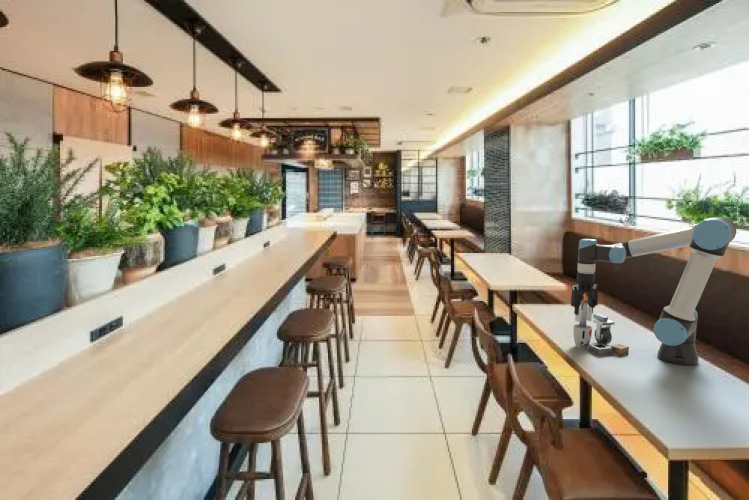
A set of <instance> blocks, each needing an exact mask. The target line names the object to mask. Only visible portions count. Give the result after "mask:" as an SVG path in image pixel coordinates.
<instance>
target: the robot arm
mask: <svg viewBox="0 0 749 500" xmlns="http://www.w3.org/2000/svg"><path fill="white" fill-rule="evenodd" d="M736 235H737V227H736V225H735V224H734V222H733V221H732V220H730V219H729V218H726V217H723V216H715V217H709V218H705V219H703V220H701V221H700V222H698V223H695V224H693V225H692V226H691V227H687V228H682V229H678V230H672V231H668V232H665V233H664V232H663V233H659V234H654V235H649V236H645V237H639V238H636V239H631V240H627V241H620V242H616V243H613V244H598V241H597V239H596V238H595V239H593V238H582V239H580V240H579V242H578V243H579V244H578V248H577V249H578V250H577V251H578V253H577V254H578V255H577V270H576V271H577V273H576V280H577V282H576V284H575V285H570V286H571V287H570V288H571V298H570V299H571V300H570V307H573V310H574V311H573V313H574V321H575V322H578V323H579V322H580V317H581V308H580V305H581V301H582V298H583V295H588V306H587V322H592V319H593V316H592V315H593V314H594V309H595V308H596V306H598V298H599V288H600V285H599V284H596V283H594V281H595V277H596V273H595V272H596V265H597V264H596V263H597V262H605V263H606V262H607V263H613V264H622V263H624V262H625V260H626V259H629V258H633V257H638V256H644V255H649V254H656V253H661V252H666V251H669V250H675V249H681V248H686V247H689V249H690V250H691V253H690V256H689V258H688V261H687V263H686V265H685V268H684V270H683V272H682V275H681V278H680V279H679V282H678V285H677V287H676V289H675V292H674V294H673V296H672V299H671V301H670V302H669V303H670V304H669V305H666V306H664V307H663V310H662V312H661V314H660V316H659V319H658V320H657V321H656V322H655V323H654V325H653V334H654V336H655V338H656V339H657V340H658V341H659V342H660V343H661V344H660V346H659V348H658V350H657V357H658V358H659V359H660V360H661V361H664V362H667V363H671V364H675V365H681V366H696V365H698V364H699V355H698V352H697V348H696V338H697V337H696V336H697V326H698V319H699V317H698V315H699V314H698V312H697V310H696V307H697V306H698V304H699V301H700V299H701V297H702V294H703V292H704V290H705V287H706V285H707V282H708V280H709V278H710V275H711V274H712V272H713V269H714V267H715V264H716V262H717V261H718V259H720V258H724V256H725V254H726V251H727V249H728V247H729V244H730V243H731V242H732V241H733V240H734V239H735V237H736Z"/></svg>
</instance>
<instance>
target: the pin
mask: <svg viewBox="0 0 749 500" xmlns="http://www.w3.org/2000/svg"><path fill="white" fill-rule="evenodd" d="M587 306H589V305H588V295H586V294H584V295H583V298H582V301H581V304H580V307H579V308H581V317H580V322H578V323H579V327H583V328H585V327H586V325H587V323H588V320H587Z"/></svg>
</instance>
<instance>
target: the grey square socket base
mask: <svg viewBox="0 0 749 500" xmlns="http://www.w3.org/2000/svg"><path fill="white" fill-rule="evenodd" d="M587 351H588V352H590V353H592V354H594V355H596V356H598V357H600V356H608V355H613V354H612V348H611V346H608V344H602V343H598V342H597V343H589V344H588V348H587Z"/></svg>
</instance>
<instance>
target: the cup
mask: <svg viewBox="0 0 749 500" xmlns="http://www.w3.org/2000/svg"><path fill="white" fill-rule="evenodd" d="M592 333H593V327H592V326H591V325H588V324H586V327H585V328H583V327H579V324H578V323H577V324H573V340H574V341H573V342H574V344H575V348H577V349H579V350H580V349H581V350H585V349H587V350H588V344H591V343H590V342H591V338H592Z"/></svg>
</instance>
